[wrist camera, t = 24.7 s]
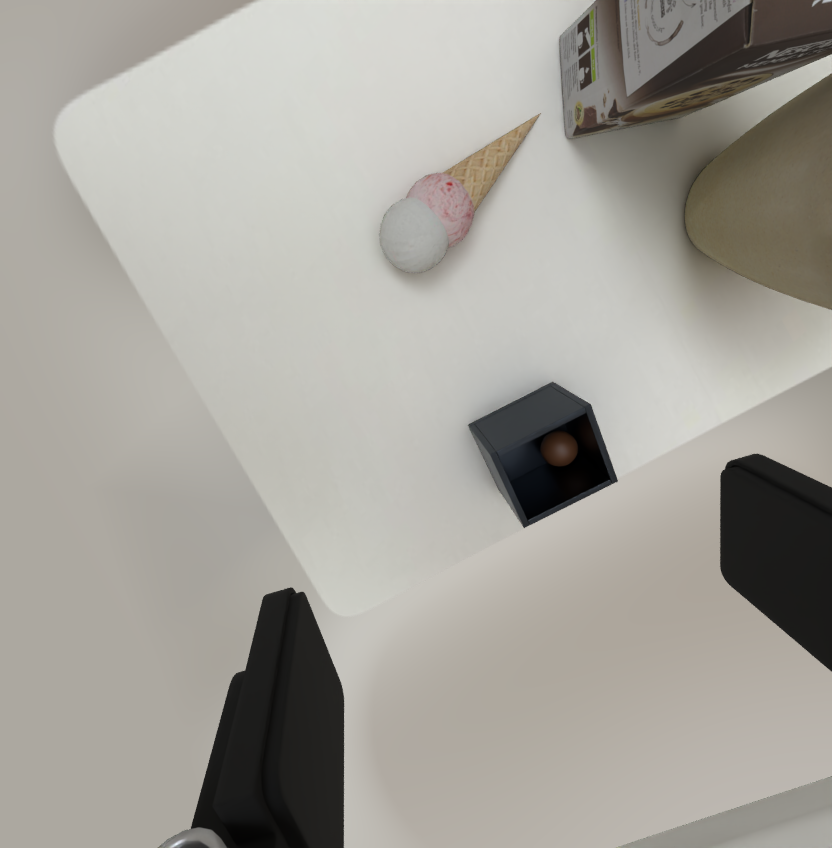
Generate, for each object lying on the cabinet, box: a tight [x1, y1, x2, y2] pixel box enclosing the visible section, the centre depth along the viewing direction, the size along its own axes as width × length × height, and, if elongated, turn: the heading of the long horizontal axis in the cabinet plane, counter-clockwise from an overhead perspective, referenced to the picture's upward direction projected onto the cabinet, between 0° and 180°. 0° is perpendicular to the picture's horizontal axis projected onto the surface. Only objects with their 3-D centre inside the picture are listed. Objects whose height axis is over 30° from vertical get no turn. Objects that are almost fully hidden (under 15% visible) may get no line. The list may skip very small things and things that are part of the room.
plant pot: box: [685, 74, 832, 310], centre depth 29 cm, size 15×15×16 cm
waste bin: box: [468, 382, 618, 528], centre depth 38 cm, size 8×7×6 cm
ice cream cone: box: [379, 113, 541, 273], centre depth 32 cm, size 5×5×15 cm
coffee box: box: [560, 0, 832, 138], centre depth 25 cm, size 9×6×16 cm
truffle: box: [540, 431, 578, 466], centre depth 39 cm, size 3×3×3 cm
